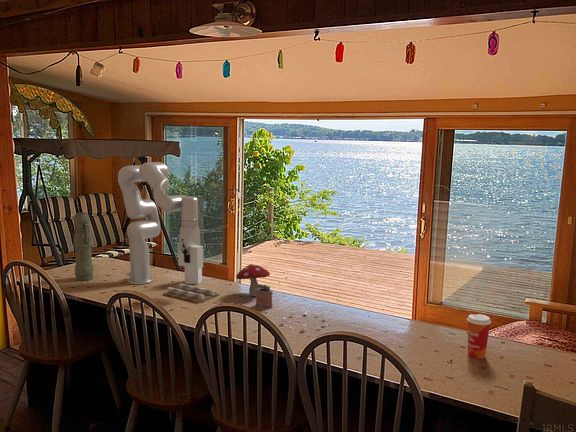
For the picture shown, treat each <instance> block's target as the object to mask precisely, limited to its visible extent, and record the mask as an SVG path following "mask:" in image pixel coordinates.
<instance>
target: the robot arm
mask: <svg viewBox="0 0 576 432" xmlns="http://www.w3.org/2000/svg"><path fill="white" fill-rule="evenodd" d="M168 175H169V168H168V166H167V165H166V164H165V163H164V162H161V161H151V162H150V161H148V162H144V163H142V164H141V165H139V164H137V165H126V166H123V167H122V168H120V170H119V171H118V176H117V180H118V186H119V187H120V190H121V192H122V196H123V197H122V198H123V202H124V206H125V212H126V215H127V217H128V218H129V219H132V220H137V219H145V220H137V221H133V222H131V223H130V224H128V225H127V229H126V233H127V237H128V243H129V244H128V245H129V261H130V262H129V264H130V269H129V270H130V271H128V272H127V273H126V275H127V276H128V277H129V278H128V279H127V283H128V284H131V285H146V284H150V283H152V282H154V279H153V277H151V276H150V275H151V271H150V269H151V268H150V267H151V266H150V247H149V244H148V243H147V241H146V240H147V239H151V238H156V237H158V236H159V235H160V234H161V230H162V229H161V226H162V225H161V221H160V218H159V212H158V207H159V208H160V209H161V210H162V211H164V212H167V213H174V212H175V213H176V212H181V214H180V215H181V226H180V228H179V234H178V235H179V236H178V237H179V238H178V245H179V250H180V251H182V252H183V254H184V262H185V263H190V255H189V249H190V247H191V246H195V245H199V246H202V243H201V231H200V226H199V206H198V205H199V200H198V197H197V196H188V195H185V194H176V195H168V194H167V193H165V191H166V190H167V189H168V187H169V186H170V180H169V179H168V177H167V176H168ZM142 182H144V183H145V182H146V183H147V184H148V185H149V186H150V188H152V189H153V192H152V193H153V199H154V201H153V200H152V199H149V198H146V199H145V198H144V199H143V198H142V195H141V190H140V189H139V187H138V186H137V185H136V184H135V183H142ZM157 205H158V207H157ZM186 249H187V251H186Z"/></svg>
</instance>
